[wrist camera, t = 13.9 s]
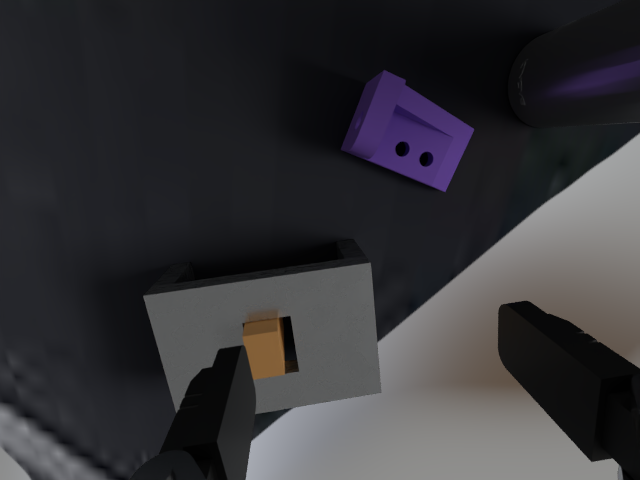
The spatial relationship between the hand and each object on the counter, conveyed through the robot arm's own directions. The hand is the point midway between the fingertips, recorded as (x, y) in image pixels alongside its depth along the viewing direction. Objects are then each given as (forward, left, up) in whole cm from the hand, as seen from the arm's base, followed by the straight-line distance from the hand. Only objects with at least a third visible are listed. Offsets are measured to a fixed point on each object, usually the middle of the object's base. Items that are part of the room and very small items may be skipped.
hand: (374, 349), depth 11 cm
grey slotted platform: (+6, +12, -27) cm, 30 cm away
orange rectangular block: (+6, +11, -27) cm, 30 cm away
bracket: (-11, -5, -28) cm, 30 cm away
